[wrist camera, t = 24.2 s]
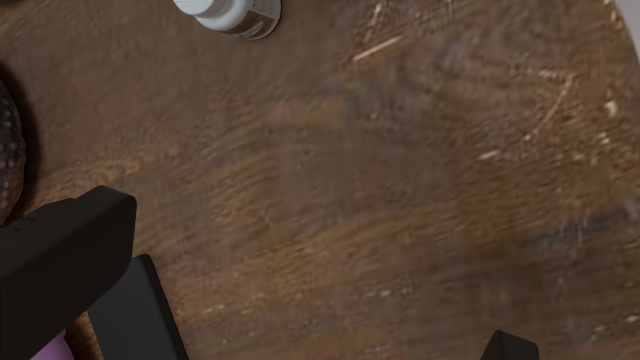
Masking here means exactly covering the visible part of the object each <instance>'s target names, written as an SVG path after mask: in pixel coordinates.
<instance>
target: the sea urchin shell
mask: <svg viewBox="0 0 640 360" xmlns="http://www.w3.org/2000/svg"><path fill="white" fill-rule="evenodd" d="M21 126H22V125H21V122H20V115H19V113H18V111H17V108H16V105H15V104H14V102H13V100H12V98H11V96H10V94H9V92H8V90H7V88H6V87H5V85H4V84H3V83H2V81H1V79H0V225H2V224H3V223H4V221H5V219H6V217H7V216H9V215H10V212H11V210H12V208H13V206H14V205H15V204H16V203H17V201H18V200H19V198H20V195H21V192H22V190H23V181H24V165H25V161H26V155H25V147H26V143H25V141H24V139H23V138H22V133H21Z"/></svg>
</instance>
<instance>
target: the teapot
mask: <svg viewBox="0 0 640 360" xmlns="http://www.w3.org/2000/svg"><path fill="white" fill-rule="evenodd" d="M65 334H66V328H65V329H64V330H63V331H62V332H61V333H60V334H59V335H57V336H56V337H55V338H54V339H53V340H52V341H51V342H50V343H48V344H47V345H46V346H45V347H44V348H43V349H42V350H41V351H39V352H38V353H37V354H36V355H35V356H34V357H33V358H32V359H30V360H74V357H73V355H72V353H71V350H70V348H69V347H68V345H67V343H66V341H65V340H64V336H65Z"/></svg>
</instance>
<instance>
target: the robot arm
mask: <svg viewBox="0 0 640 360" xmlns="http://www.w3.org/2000/svg"><path fill="white" fill-rule="evenodd" d="M136 210H137V202H136V199H135V197H134V196H131V195H129V194H126V193H123V192H120V191H118V190H115V189H112V188H109V187H107V186H104V185H100V186H97V187H95V188H93V189H92V190H90V191H88V192H86V193H85V194H83V195H81V196H80V197H78V198H76V199H73V198H68V199H64V200H60V201H56V202H52V203H48V204H45V205H43V206H42V207H40V208H38V209H36V210H34V211H33V212H31V213H29V214H27V215H26V217H25V218H20V219H18V220H16V221H15V222H13V223H11V224H9V227H8V228H7V227H4V228H2V229H0V360H30V359H32V358H33V357H34V356H35V355H36V354H37V353H38V352H39V351H41V350H42V349H43V348H44V347H45V346H46V345H47V344H48V343H50V342H51V341H52V340H53V339H54V338H55V337H56V336H57V335H59V334H60V333H61V332H62V331H63V330H64V329H65V328H67V327H68V326H69V325H70V324H71V323H72V322H73V321H74V320H76V319H77V318H78V317H79V316H80V315H81V314H82V313H83V312H85V311H86V310H87V309H88V308H89V307H90V306H91V305H93V304H94V303H95V302H96V301H97V300H98V299H99V298H100V297H102V296H103V295H104V294H105V293H106V292H107V291H108V290H109V289H111V288H112V287H113V286H114V285H115V284H116V283H117V282H118V281H119V280H120V279H121V278H122V277H123V275H124V274H125V272H126V270H127V268H128V266H129V264H130V261H131V257H132V249H133V239H134V230H135V220H136ZM480 360H540V358H539V352H538V347H537V345H536V344H535V343H533V342H531V341H528V340H525V339H522V338H520V337H517V336H514V335H511V334H509V333H506V332H503V331H500V330H496V331H495V332H494V334H493V335H492V337H491V339H490V341H489V343H488V345H487V347H486V349H485V351H484V353H483V355H482V357H481V359H480Z"/></svg>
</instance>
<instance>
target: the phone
mask: <svg viewBox="0 0 640 360" xmlns="http://www.w3.org/2000/svg"><path fill="white" fill-rule="evenodd" d="M87 313H88V315H89V318H90V321H91V324H92V326H93V329H94V332H95V335H96V338H97V340H98V343H99V346H100V349H101V351H102V354H103V357H104V360H188V359H187V357H186V354H185V351H184V349H183V346H182V343H181V341H180V338H179V335H178V332H177V330H176V327H175V324H174V322H173V319H172V316H171V313H170V311H169V308H168V305H167V303H166V300H165V297H164V294H163V292H162V289H161V286H160V284H159V281H158V278H157V275H156V273H155V270H154V267H153V265H152V262H151V260H150V258H149V256H148V255H147V254H143V255H140V256H137V257H135V258H132V259H131V261H130V264H129V266H128V268H127V270H126V272H125V274H124V275H123V277H122V278H121V279H120V280H119V281H118V282H117V283H116V284H115V285H114V286H113V287H112V288H111V289H109V290H108V291H107V292H106V293H105V294H104V295H103V296H102V297H100V298H99V299H98V300H97V301H96V302H95V303H94V304H93V305H91V306H90V307H89V308H88V309H87Z"/></svg>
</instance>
